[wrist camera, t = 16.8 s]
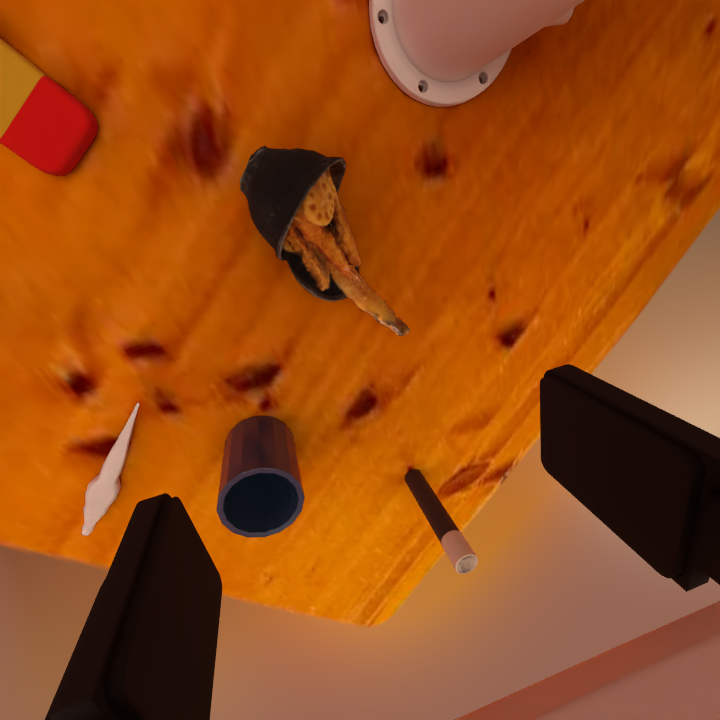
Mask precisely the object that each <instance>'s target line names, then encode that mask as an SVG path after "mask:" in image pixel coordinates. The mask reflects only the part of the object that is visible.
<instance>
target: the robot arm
mask: <svg viewBox="0 0 720 720" xmlns="http://www.w3.org/2000/svg"><path fill="white" fill-rule="evenodd" d="M583 1H584V0H369V15H370V26H371V32H372V36H373V40H374V44H375V48H376V50H377V52H378V55H379V57H380V60H381V62H382V64H383V66H384V68H385V69H386V71H387V72H388V74H389V76H390V77H391V79H392V80H393V81H394V82H395V83H396V84H397V85H398V87H399V88H400V89H401V90H402V91H404V92H405V93H406V94H408V95H409V96H410V97H412V98H413V99H415V100H417V101H419V102H421V103H424V104H427V105H431V106H436V107H450V106H454V105H458V104H461V103H464V102H466V101H468V100H470V99H472V98H474V97H475V96H477V95H478V94H479V93H481V92H482V91H484V90H485V89H486V88H487V87H488V86H489V85H490V84H491V83H492V82H493V81H494V80H495V79H496V77H497V76H498V74H499V73H500V71H501V70H502V68H503V67H504V65H505V63H506V61H507V59H508V57H509V54H510V52H511V49H512V48H513V47H515V46H516V45H518V44H519V43H521V42H522V41H524V40H525V39H527V38H528V37H530V36H531V35H533V34H534V33H536V32H538V31H539V30H541V29H542V28H544V27H545V26H554V25H563V24H565V23H567V22H568V21H569V19H570V18H571V16H572V14H573V11H574V8H575V6H577V5H578V4H580V3H581V2H583ZM378 19H381V20H382V22H383V24H381V23H380V22H379V20H378ZM479 80H480V82H479ZM418 86H420V87H421V92H420V91H419V88H418ZM540 424H541V461H542V464H543V466H544V468H545V470H546V471H547V472H548V473H549V474H550V475H551V476H552V477H553V478H554V479H556V480H557V481H558V482H559V483H560V484H561V485H562V486H563V487H564V488H566V489H567V490H568V491H569V492H570V493H571V494H572V495H573V496H574V497H576V498H577V499H578V500H579V501H580V502H581V503H582V504H583V505H584V506H585V507H586V508H588V509H589V510H590V511H591V512H592V513H593V514H594V515H595V516H596V517H597V518H599V519H600V520H601V521H602V522H603V523H604V524H606V526H607V527H609V528H610V529H611V530H612V531H613V532H614V533H615V534H616V535H617V536H618V537H619V538H621V539H622V540H623V541H624V542H625V543H626V544H627V545H628V546H629V547H631V548H632V549H633V550H634V551H635V552H636V553H637V554H638V555H639V556H640V557H642V558H643V559H644V560H645V561H646V562H647V563H648V564H649V565H650V566H652V567H653V568H654V569H655V570H656V571H657V572H658V573H659V574H661V575H662V576H664V577H666V578H672V579H673V580H674V581H675V582H676V583H677V584H679V585H680V586H681V587H682V588H683V589H684V590H685V591H686V592H687V591H689V590H691V589H693V588H696V587H698V586H700V585H703V584H705V583H707V582H708V580H709V577H711V578H712V579H713V580H714V581H715V582H717V583H718V584H719V585H720V438H718V437H716V436H714V435H712V434H710V433H708V432H706V431H704V430H702V429H700V428H698V427H696V426H694V425H692V424H690V423H688V422H686V421H684V420H682V419H680V418H678V417H676V416H674V415H672V414H670V413H668V412H666V411H664V410H662V409H659V408H657V407H656V406H653V405H652V404H649V403H648V402H646V401H643V400H641V399H639V398H637V397H635V396H633V395H631V394H629V393H627V392H625V391H623V390H621V389H619V388H617V387H615V386H613V385H611V384H609V383H607V382H605V381H603V380H601V379H599V378H597V377H595V376H593V375H591V374H589V373H587V372H585V371H583V370H581V369H579V368H577V367H575V366H573V365H569V364H568V365H563V366H560V367H557V368H554V369H551V370H548V371H547V372H545V374H544V378H542V379H541V381H540ZM221 596H222V582H221V578H220V575H219V572H218V571H217V569H216V567H215V565H214V563H213V561H212V559H211V557H210V555H209V553H208V551H207V550H206V548H205V546H204V544H203V542H202V540H201V538H200V536H199V534H198V532H197V531H196V529H195V527H194V525H193V523H192V521H191V519H190V517H189V515H188V513H187V511H186V510H185V508H184V506H183V504H182V502H181V500H180V499H179V498H178V497H173V498H171V497H170V495H168V494H166V493H164V494H161V495H158V496H155V497H152V498H149V499H146V500H143V501H140V502H138V504H137V505H136V507H135V509H134V512H133V514H132V517H131V519H130V521H129V524H128V526H127V529H126V531H125V533H124V536H123V538H122V541H121V543H120V546H119V548H118V550H117V553H116V555H115V558H114V560H113V562H112V565H111V567H110V570H109V572H108V575H107V577H106V579H105V580H104V582H103V584H102V586H101V588H100V590H99V592H98V594H97V597H96V599H95V602H94V604H93V606H92V609H91V611H90V613H89V616H88V618H87V621H86V623H85V626H84V628H83V630H82V633H81V635H80V637H79V640H78V642H77V644H76V647H75V649H74V652H73V654H72V656H71V659H70V661H69V663H68V666H67V668H66V671H65V673H64V675H63V678H62V680H61V683H60V685H59V687H58V690H57V692H56V695H55V697H54V699H53V702H52V704H51V706H50V709H49V711H48V713H47V716H46V718H45V720H210V710H211V700H212V689H213V678H214V669H215V659H216V648H217V638H218V627H219V617H220V607H221ZM455 720H720V601H719V602H717V603H714V604H712V605H710V606H708V607H705V608H703V609H701V610H698V611H696V612H694V613H692V614H689V615H687V616H685V617H683V618H680V619H678V620H676V621H674V622H671V623H669V624H667V625H665V626H662V627H660V628H658V629H656V630H654V631H651V632H649V633H647V634H644V635H642V636H640V637H638V638H636V639H633V640H631V641H629V642H627V643H624V644H622V645H620V646H617V647H615V648H613V649H611V650H608V651H607V652H604V653H602V654H600V655H598V656H595V657H593V658H591V659H588V660H586V661H584V662H582V663H580V664H577V665H575V666H573V667H571V668H568V669H566V670H564V671H562V672H560V673H557V674H555V675H553V676H551V677H548V678H546V679H544V680H542V681H540V682H537V683H535V684H533V685H531V686H528V687H526V688H524V689H522V690H520V691H518V692H515V693H513V694H511V695H509V696H506V697H504V698H502V699H500V700H497V701H495V702H493V703H491V704H489V705H486V706H484V707H482V708H480V709H478V710H476V711H473V712H471V713H469V714H467V715H464V716H462V717H460V718H458V719H455Z"/></svg>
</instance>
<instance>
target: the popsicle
mask: <svg viewBox="0 0 720 720" xmlns="http://www.w3.org/2000/svg"><path fill="white" fill-rule="evenodd" d="M97 129H98V125H97V121H96V119H95V117H94V116H93V114H92V113H91V112H90V111H89V110H88V109H87V108H86V107H85V106H84V105H83V104H82V103H81V102H79V101H78V100H77V99H76V98H75V97H73V96H72V95H71V94H70V93H68V92H67V91H66V90H65V89H63V88H62V87H61V86H60V85H58V84H57V83H56V82H55V81H53V80H52V79H51V78H50V77H48V76H47V75H46V74H45V73H43V72H42V71H41V70H40V69H39V68H37V67H36V66H35V65H34V64H32V63H31V62H30V61H29V60H27V59H26V58H25V57H24V56H22V55H21V54H20V53H19V52H17V51H16V50H15V49H14V48H12V47H11V46H10V45H9V44H7V43H6V42H5V41H4V40H2V39H1V38H0V143H2V144H3V145H4V146H6V147H7V148H9V149H10V150H11V151H13V152H14V153H16V154H17V155H19V156H20V157H21V158H23V159H24V160H26V161H27V162H28V163H30V164H31V165H33V166H34V167H36V168H38V169H39V170H41V171H43V172H45V173H48V174H52V175H56V176H59V175H66V174H68V173H70V172H71V171H72V170H73V169H74V168H75V166H76V165H77V163H78V162H79V160H80V159H81V158H82V156H83V155H84V153H85V152H86V150H87V149H88V147H89V146H90V144H91V143H92V141H93V140H94V138H95V136H96V134H97Z"/></svg>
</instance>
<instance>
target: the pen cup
mask: <svg viewBox="0 0 720 720" xmlns="http://www.w3.org/2000/svg"><path fill="white" fill-rule="evenodd" d="M303 502H304V491H303V486H302V480H301V474H300V469H299V463H298V458H297V452H296V446H295V442H294V438H293V435H292V432H291V430H290V429H289V428H288V426H287V425H286V424H284V423H283V422H282V421H280V420H278V419H276V418H273V417H268V416H256V417H251V418H248V419H246V420H243V421H242V422H240V423H238V424H237V425H236V426H235V427H234V428H233V429H232V430H231V431H230V433H229V434H228V436H227V439H226V441H225V449H224V456H223V464H222V472H221V479H220V487H219V494H218V502H217V513H218V515H219V518H220V520H221V522H222V524H223V525H224V526H226V527H227V528H228V529H229V530H230V531H232V532H233V533H236V534H239V535H242V536H245V537H266V536H269V535H272V534H275V533H278V532H281V531H282V530H284V529H285V528H286V527H288V526H289V525H291V524H292V523H293V522H294V521H295V519H296V518H297V517H298V515H299V514H300V512H301V511H302V507H303Z"/></svg>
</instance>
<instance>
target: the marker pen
mask: <svg viewBox="0 0 720 720" xmlns="http://www.w3.org/2000/svg"><path fill="white" fill-rule="evenodd" d="M405 481H406V483H407V485H408V487H409V488H410V490H411V492H412V494H413V495H414V497H415V499H416V501H417V502H418V504H419V506H420V508H421V509H422V511H423V513H424V515H425V516H426V518H427V520H428V522H429V523H430V525H431V527H432V529H433V530H434V532H435V534H436V536H437V537H438V539H439V541H440V543H441V545H442V547H443V549H444V551H445V552H446V554H447V556H448V557H449V559H450V561H451V563H452V565H453V566H454V568H455V570H456V571H457V572H458V573H460V574H465V573H468V572H470V571H472V570H473V569H474V568H475V567H476V565H477V563H478V558H477V556H476V555H475V553H474V552H473V550H472V548H471V547H470V545H469V544H468V542H467V541H466V539H465V538H464V536H463V535H462V533H461V532H460V531H459V530H458V528H457V527H456V525H455V523H454V522H453V520H452V519H451V517H450V516H449V514H448V513H447V511H446V510H445V508H444V507H443V505H442V504H441V502H440V501H439V499H438V497H437V496H436V494H435V493H434V491H433V490H432V488H431V487H430V485H429V484H428V482H427V481H426V479H425V478H424V476H423V475H422V473H421V472H420V471H419V470H411V471H409V472H408V473H407V474H406V476H405Z"/></svg>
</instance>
